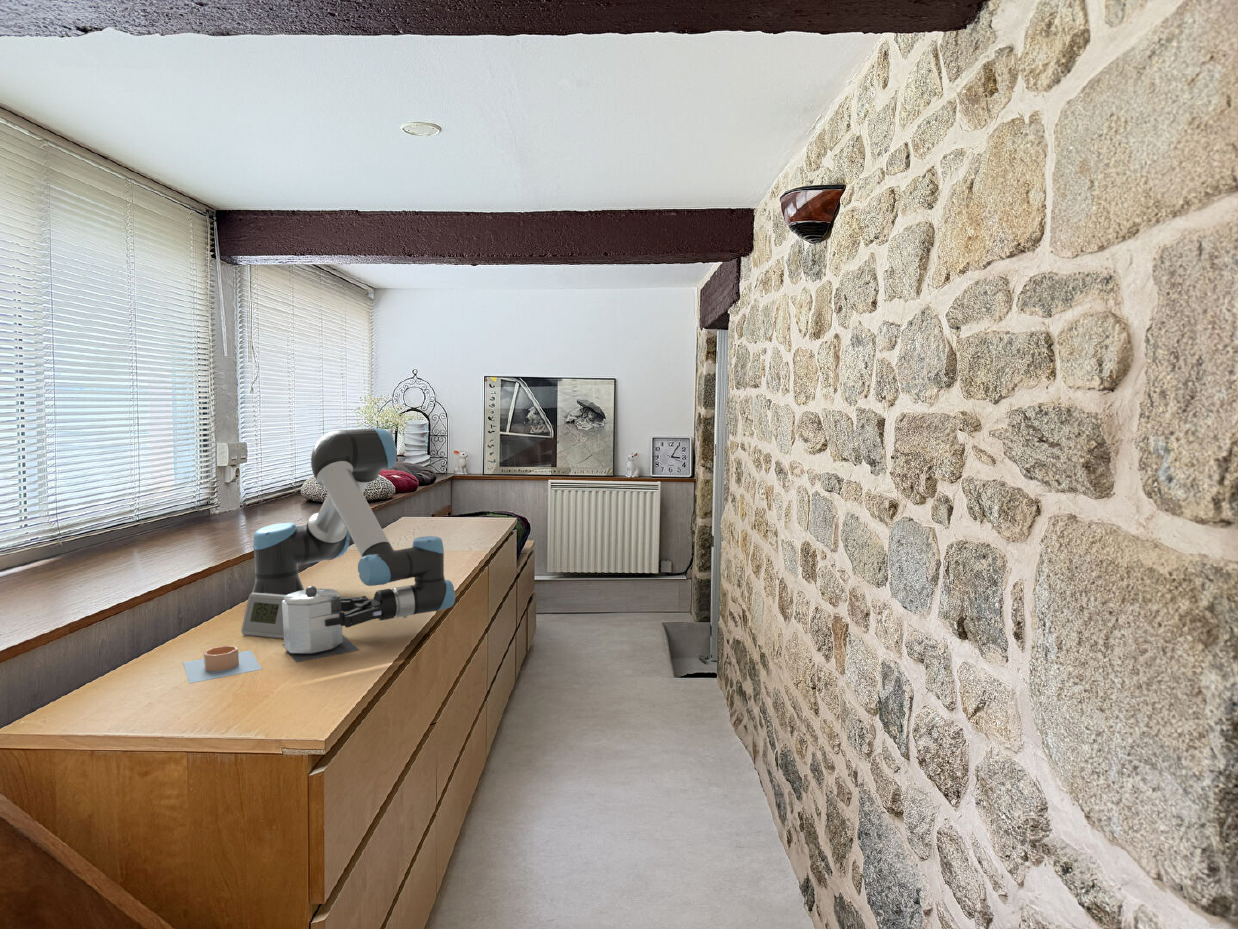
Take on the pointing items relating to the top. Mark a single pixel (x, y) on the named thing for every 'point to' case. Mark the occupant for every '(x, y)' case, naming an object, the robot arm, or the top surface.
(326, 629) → the steel canister
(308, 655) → the black mat
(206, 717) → the top surface
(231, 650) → the terracotta bowl
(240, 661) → the blue board
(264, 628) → the digital clock
